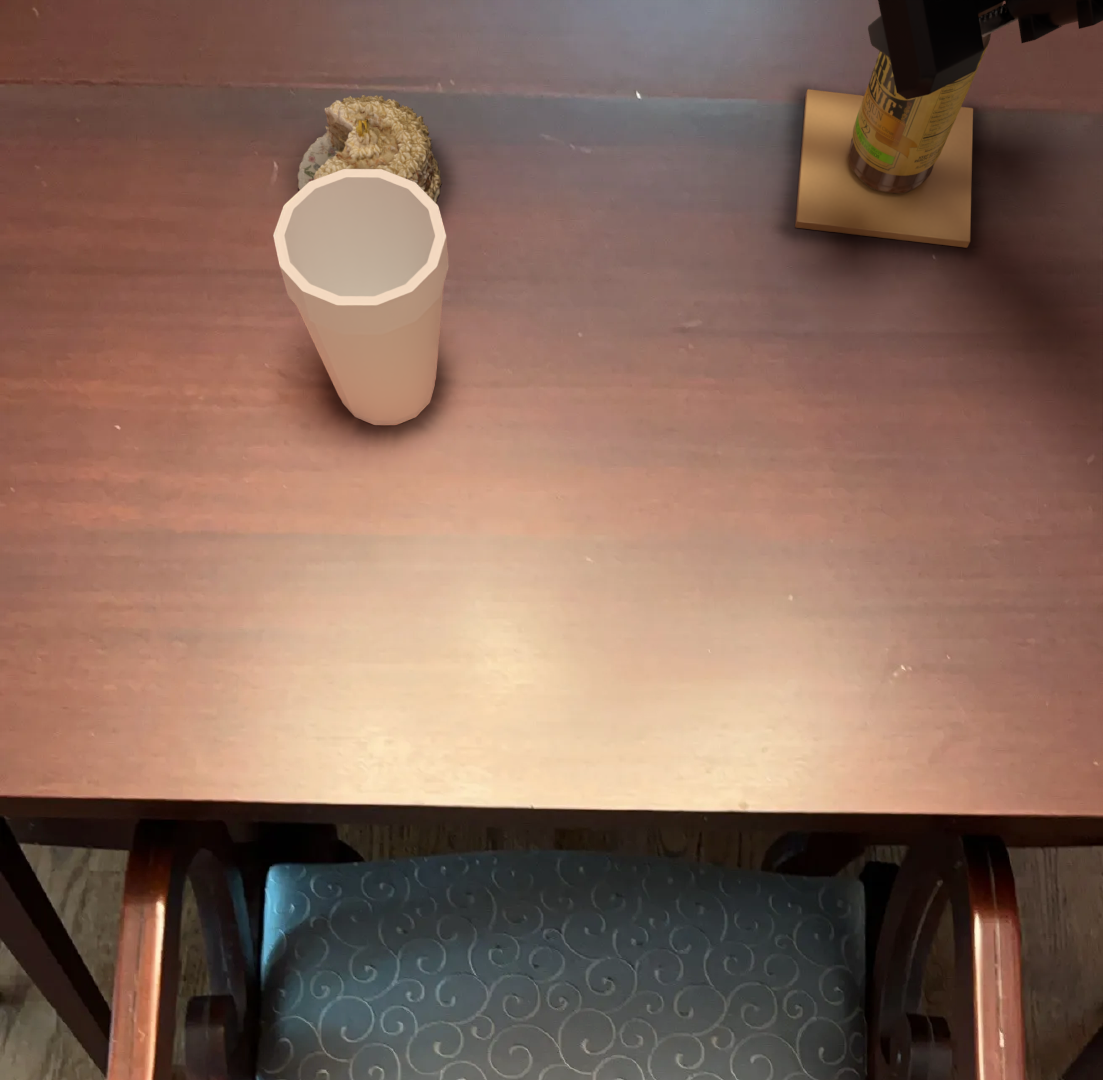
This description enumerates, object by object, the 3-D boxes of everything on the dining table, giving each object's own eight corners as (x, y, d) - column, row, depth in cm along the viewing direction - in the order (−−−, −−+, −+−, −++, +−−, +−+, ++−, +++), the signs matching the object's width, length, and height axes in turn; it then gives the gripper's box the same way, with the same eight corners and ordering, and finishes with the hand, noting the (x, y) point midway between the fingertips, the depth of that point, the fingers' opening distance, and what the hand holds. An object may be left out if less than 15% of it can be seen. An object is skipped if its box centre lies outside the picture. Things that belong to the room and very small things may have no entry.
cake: (441, 131, 84) (442, 66, 79) (441, 246, 81) (442, 186, 76) (300, 123, 83) (292, 55, 78) (295, 239, 80) (286, 177, 75)
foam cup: (482, 357, 78) (474, 205, 65) (419, 466, 75) (398, 330, 63) (355, 305, 79) (323, 146, 66) (288, 411, 76) (242, 266, 64)
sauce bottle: (832, 138, 83) (923, -164, 64) (915, 123, 84) (1030, -181, 65) (861, 208, 81) (963, -81, 62) (945, 193, 82) (1072, -99, 63)
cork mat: (805, 95, 85) (807, 88, 84) (970, 114, 85) (973, 107, 84) (794, 227, 81) (796, 221, 81) (967, 247, 81) (970, 241, 81)
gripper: (1264, -325, 56) (1025, -207, 70) (962, -187, 53) (772, -90, 66) (1277, -61, 62) (1054, 3, 75) (1005, 80, 59) (821, 120, 72)
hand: (930, 5), depth 72 cm, fingers open, 9 cm apart
